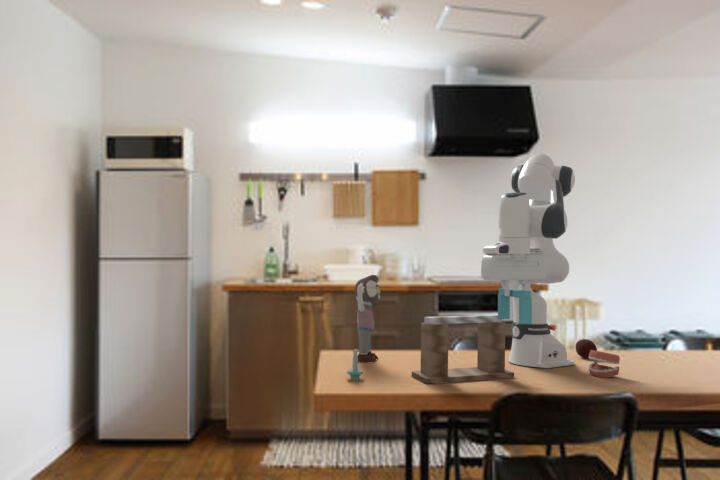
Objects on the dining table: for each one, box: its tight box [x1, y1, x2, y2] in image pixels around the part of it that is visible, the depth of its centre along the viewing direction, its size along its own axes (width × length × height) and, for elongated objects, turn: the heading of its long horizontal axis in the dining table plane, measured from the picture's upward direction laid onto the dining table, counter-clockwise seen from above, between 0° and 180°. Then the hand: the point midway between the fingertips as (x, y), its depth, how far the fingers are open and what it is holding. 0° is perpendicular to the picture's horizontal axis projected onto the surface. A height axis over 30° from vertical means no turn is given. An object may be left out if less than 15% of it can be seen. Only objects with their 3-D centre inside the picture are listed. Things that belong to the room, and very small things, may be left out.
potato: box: [574, 338, 598, 359], centre depth 192 cm, size 7×8×7 cm
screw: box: [346, 348, 364, 381], centre depth 152 cm, size 9×5×5 cm
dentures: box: [587, 350, 621, 378], centre depth 163 cm, size 9×7×8 cm
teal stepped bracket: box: [497, 287, 532, 324], centre depth 148 cm, size 3×12×9 cm, turn 20°
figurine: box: [354, 274, 381, 363], centre depth 179 cm, size 18×9×30 cm, turn 168°
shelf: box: [411, 314, 515, 385], centre depth 158 cm, size 30×10×18 cm, turn 110°
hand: (514, 296), depth 148 cm, fingers closed on teal stepped bracket, 2 cm apart
